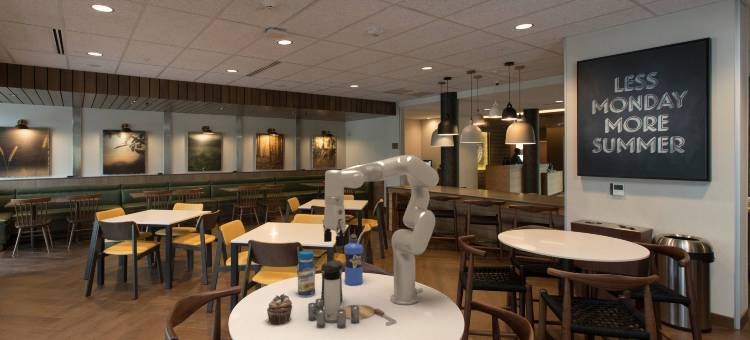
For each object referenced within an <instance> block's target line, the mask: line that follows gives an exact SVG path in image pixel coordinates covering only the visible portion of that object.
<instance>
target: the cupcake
mask: <svg viewBox="0 0 750 340" xmlns="http://www.w3.org/2000/svg"><path fill="white" fill-rule="evenodd" d="M292 302H293V301H292V300H291V299H290V297H289V296H288V295H285V294H284V293H282V294H280V296H279V295H275V296H274V298H272V300H271V301H270V302H269V303H268V307H267V308H266V311H267V317H268V323H269V324H270V325H275V326H281V325H284V324H287V323H289V322H290V320H291V315H292V309H293V305H292V304H293V303H292Z"/></svg>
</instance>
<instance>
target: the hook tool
mask: <svg viewBox="0 0 750 340" xmlns="http://www.w3.org/2000/svg"><path fill="white" fill-rule="evenodd" d="M373 309H374V312H375V313H374V315H377V316H379V317H380V316H381V318H383V317H384V319H385V320H388V321H387V322H385V326H390V325H393V324H396V323H397V320H396V319H395V318H392V317H391V316H389V315H387V314H385V311H383V310H381V309H380V308H373Z"/></svg>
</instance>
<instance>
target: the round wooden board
mask: <svg viewBox="0 0 750 340" xmlns="http://www.w3.org/2000/svg"><path fill="white" fill-rule="evenodd" d="M354 305H355V304H349V305H346V306H343V307H340V310H345V311H346V320H347V319H348V320H351V306H354ZM356 305H357V306H359V320H365V319H369V318H371V317H372V316H374V315H375V312H374V309H375V308H373V307H372V306H369V305H366V304H356Z"/></svg>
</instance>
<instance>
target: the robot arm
mask: <svg viewBox="0 0 750 340" xmlns="http://www.w3.org/2000/svg"><path fill="white" fill-rule="evenodd" d="M324 174H325V175H324V179H325V180H324V205H325V206H324V213H323V215H324V216H323V219H322V228H323V242H325V243H329V242H332V238H333V237H332V235H333V232H332V231H335V234H336V236H335V247H344V246H345V244H344V241H345V239H344V238H345V233H346V229H347V225H346V210H345V205H344V198H345V193H344V192H345V188H348V189H358V188H361V187H362V186H363V184H364V183H365V182H380V181H387V180H388V179H393V178H395V177H399V176H400V177H401V176H404V175H406V179H407V182H408V184H409V186H410V191H411V192H410V193H411V196H410V200H409V201H408V204H407V206H406V207H407V208H406V209H405V212H404V215H403V217H402V222H403V224H404V225H405V226H406V227H407V228H409V229H413V230H409V229H405V228H402V229H401V228H400V229H398V230H395V231H394V232H393V234H392V237H391V248H392V253H393V294H392V295H391V296H389V297H390V301H391V302H392V303H394V304H397V305H405V306H406V305H408V306H409V305H414V304H416V303H418V302H419V296H418V295H419V294H421V293H423V292H424V290H423V287H420V288H417V287H416V257H415V256H419V255H422V254H423V253H424V252H425V250H426V249H427V247H428V245H429V242H430V239H431V237H432V235H433V231H434V230H435V226H436V217H435V213H433V212H432V210H430V209H428V206H429V203H430V198H431V197H430V193H429V189H431V188H434V187H436V186H437V184H438V183H439V181H440V177H439V174H438V171H437V170H436V169H434V168H433V167H432V166H431V165H429V164H428V163H426V162H425V161H424V160H423V159H421V158H419V157H418V156H416V155H412V154H410V155H406V154H405V155H403V154H402V155H397V156H394V157H389V158H385V159H381V160H377V161H372V162H369V163H363V164H360V165H359V164H358V165H354V166H351V167H347V168H343V169H329V170H326V171H325V173H324Z"/></svg>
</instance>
